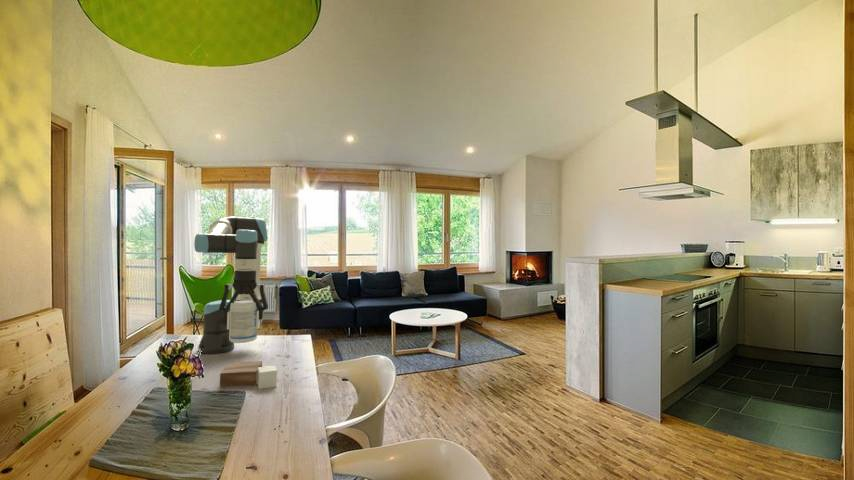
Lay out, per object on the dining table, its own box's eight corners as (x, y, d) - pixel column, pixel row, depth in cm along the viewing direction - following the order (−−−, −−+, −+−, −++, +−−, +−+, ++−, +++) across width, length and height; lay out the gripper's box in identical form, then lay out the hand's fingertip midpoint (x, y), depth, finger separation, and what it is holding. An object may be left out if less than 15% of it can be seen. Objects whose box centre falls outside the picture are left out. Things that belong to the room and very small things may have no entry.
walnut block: (229, 375, 147) (229, 362, 147) (261, 373, 150) (262, 361, 150) (219, 387, 135) (220, 373, 135) (255, 385, 138) (255, 371, 138)
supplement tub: (260, 341, 142) (261, 302, 142) (233, 345, 136) (234, 305, 136) (251, 335, 149) (252, 299, 149) (225, 339, 142) (226, 301, 143)
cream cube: (257, 383, 140) (258, 367, 140) (274, 380, 143) (275, 365, 143) (258, 389, 135) (259, 372, 135) (276, 386, 138) (276, 370, 138)
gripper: (210, 270, 136) (208, 331, 136) (274, 271, 141) (272, 329, 141) (216, 268, 143) (214, 326, 143) (277, 269, 149) (275, 325, 149)
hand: (243, 328), depth 142 cm, fingers closed on supplement tub, 9 cm apart
